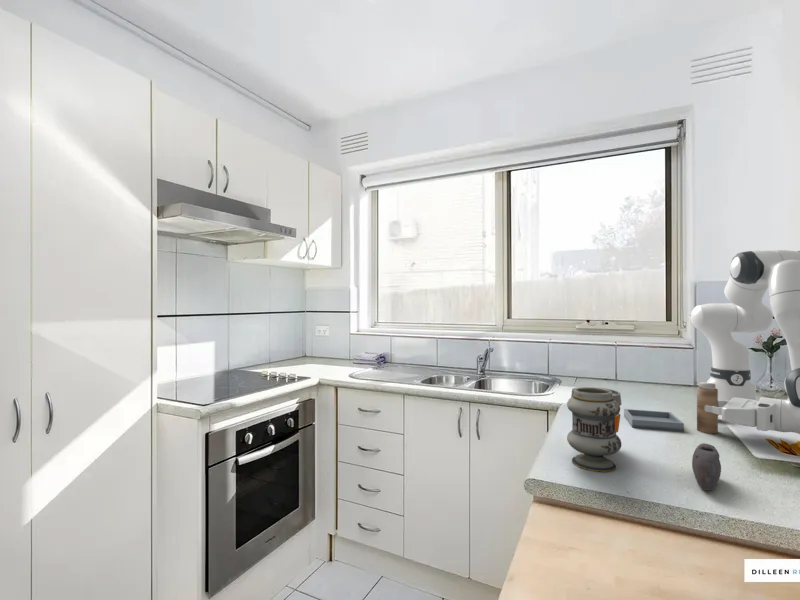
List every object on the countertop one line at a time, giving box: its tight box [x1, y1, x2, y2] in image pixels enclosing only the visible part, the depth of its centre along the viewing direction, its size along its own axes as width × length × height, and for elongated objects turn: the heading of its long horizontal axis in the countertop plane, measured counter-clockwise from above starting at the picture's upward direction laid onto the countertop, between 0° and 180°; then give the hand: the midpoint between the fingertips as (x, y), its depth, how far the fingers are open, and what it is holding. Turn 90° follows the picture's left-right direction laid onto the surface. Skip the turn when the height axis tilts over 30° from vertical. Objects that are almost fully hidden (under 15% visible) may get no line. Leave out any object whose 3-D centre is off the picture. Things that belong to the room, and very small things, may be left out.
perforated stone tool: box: [691, 442, 722, 491], centre depth 93 cm, size 15×5×7 cm, turn 142°
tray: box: [623, 408, 685, 433], centre depth 138 cm, size 14×14×2 cm
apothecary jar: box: [566, 386, 622, 473], centre depth 104 cm, size 12×12×18 cm
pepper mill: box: [696, 381, 719, 434], centre depth 130 cm, size 5×5×14 cm
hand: (708, 405), depth 130 cm, fingers open, 8 cm apart
